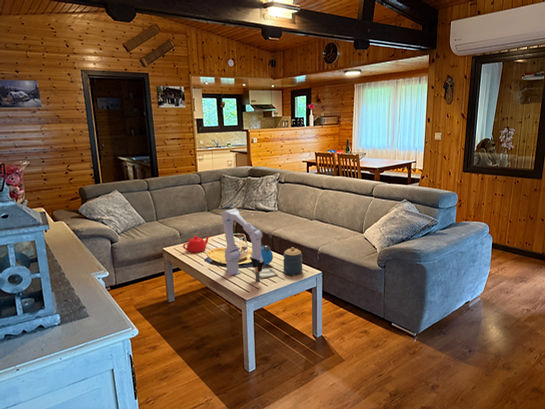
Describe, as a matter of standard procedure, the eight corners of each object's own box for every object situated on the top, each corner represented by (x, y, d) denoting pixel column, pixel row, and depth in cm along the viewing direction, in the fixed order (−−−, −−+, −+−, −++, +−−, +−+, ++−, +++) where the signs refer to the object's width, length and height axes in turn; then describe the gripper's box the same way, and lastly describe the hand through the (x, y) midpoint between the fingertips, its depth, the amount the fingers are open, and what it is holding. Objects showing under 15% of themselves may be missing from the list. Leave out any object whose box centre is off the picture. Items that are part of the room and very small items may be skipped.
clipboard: (251, 271, 251) (251, 269, 251) (267, 267, 256) (267, 266, 256) (261, 279, 237) (261, 277, 237) (277, 275, 242) (277, 273, 242)
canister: (290, 277, 239) (290, 251, 236) (279, 271, 250) (279, 246, 246) (306, 272, 246) (306, 247, 243) (294, 266, 257) (294, 242, 253)
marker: (255, 280, 236) (254, 267, 234) (258, 279, 237) (258, 266, 235) (256, 282, 233) (256, 268, 231) (260, 281, 234) (260, 268, 233)
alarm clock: (273, 265, 261) (272, 245, 258) (268, 267, 256) (267, 247, 253) (259, 261, 269) (258, 242, 266) (253, 264, 264) (253, 244, 261)
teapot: (188, 256, 283) (187, 241, 280) (179, 251, 294) (177, 237, 292) (215, 248, 299) (215, 234, 297) (205, 244, 311) (204, 231, 308)
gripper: (246, 247, 235) (247, 266, 238) (255, 253, 222) (256, 274, 225) (256, 245, 238) (257, 265, 241) (265, 251, 225) (266, 272, 228)
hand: (257, 269), depth 233 cm, fingers open, 7 cm apart
